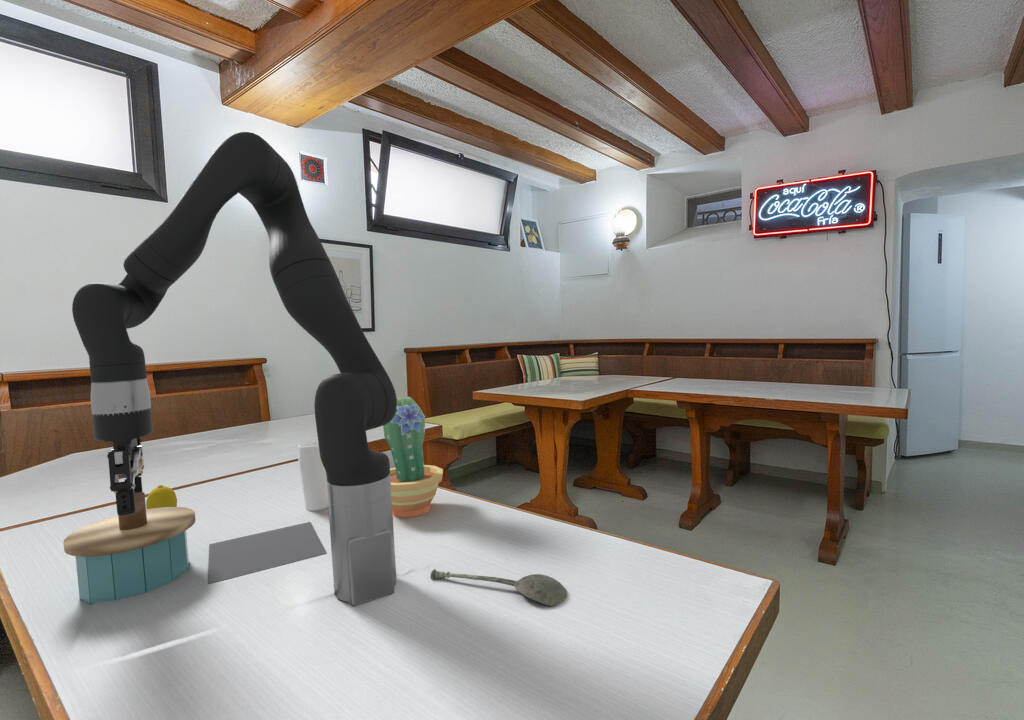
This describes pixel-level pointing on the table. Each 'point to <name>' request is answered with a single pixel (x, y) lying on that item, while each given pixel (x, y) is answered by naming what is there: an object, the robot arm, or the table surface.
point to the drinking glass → (312, 476)
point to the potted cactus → (410, 461)
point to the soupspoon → (522, 586)
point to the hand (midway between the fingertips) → (131, 506)
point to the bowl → (131, 570)
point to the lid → (129, 530)
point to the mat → (262, 551)
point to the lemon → (161, 498)
